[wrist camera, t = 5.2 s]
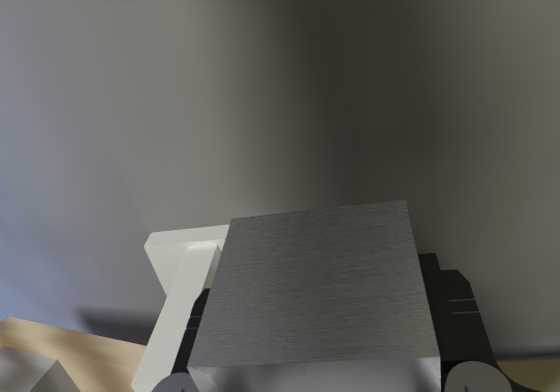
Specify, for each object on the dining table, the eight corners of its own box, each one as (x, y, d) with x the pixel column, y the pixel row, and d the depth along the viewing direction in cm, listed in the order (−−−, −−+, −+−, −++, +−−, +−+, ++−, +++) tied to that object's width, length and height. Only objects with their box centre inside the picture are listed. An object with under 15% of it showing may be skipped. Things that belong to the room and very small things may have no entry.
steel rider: (268, 328, 16) (246, 480, 12) (231, 218, 13) (186, 367, 9) (413, 320, 15) (442, 483, 11) (405, 199, 12) (440, 357, 8)
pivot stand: (205, 353, 38) (161, 507, 28) (151, 232, 31) (70, 381, 21) (298, 349, 36) (285, 510, 27) (263, 221, 29) (230, 376, 20)
